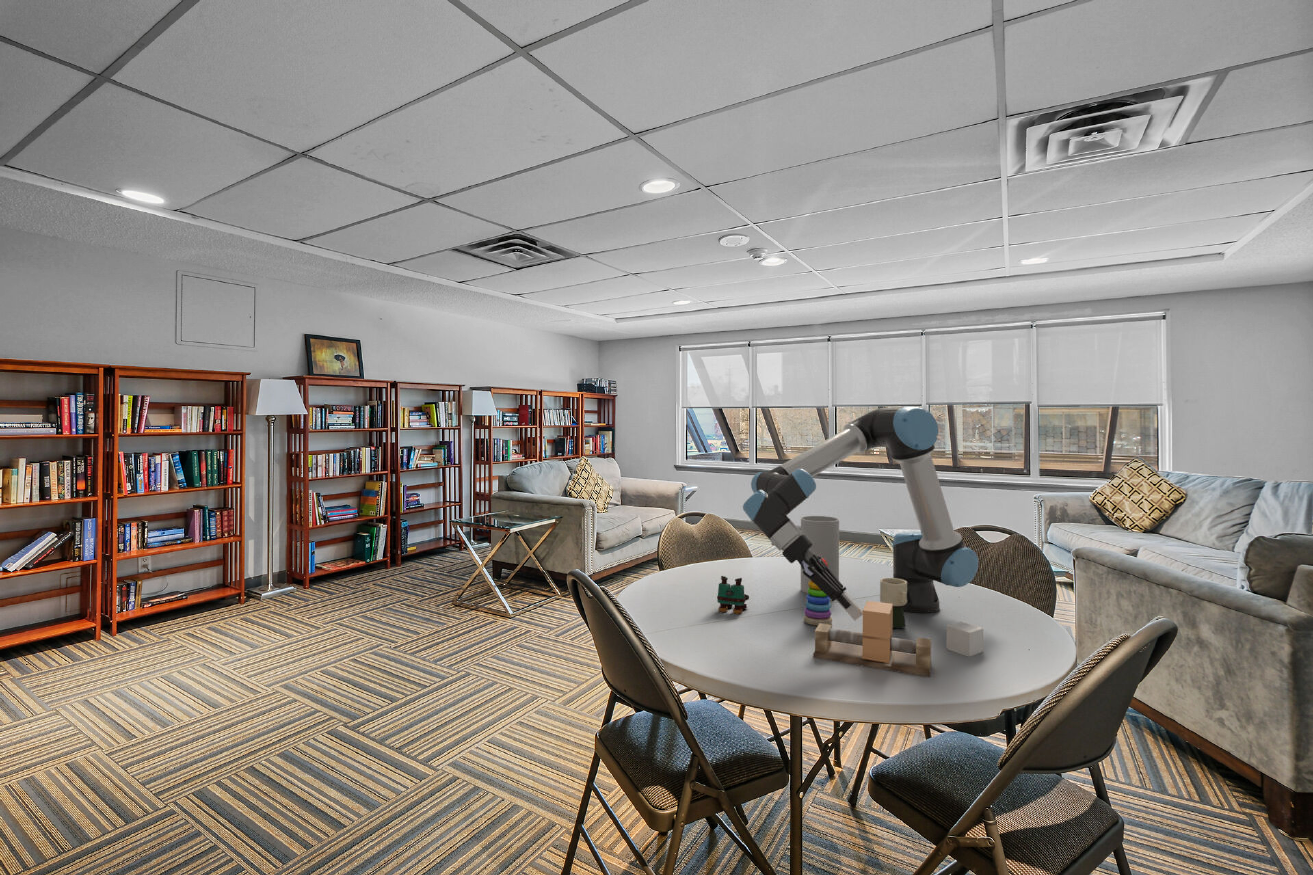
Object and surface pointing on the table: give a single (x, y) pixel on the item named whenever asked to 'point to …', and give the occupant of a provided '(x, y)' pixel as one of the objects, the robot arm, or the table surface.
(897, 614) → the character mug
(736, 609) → the binoculars
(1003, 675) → the table surface
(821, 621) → the stacking toy
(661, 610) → the table surface
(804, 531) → the cylinder vase
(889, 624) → the wooden block
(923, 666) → the pipe stand
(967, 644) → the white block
